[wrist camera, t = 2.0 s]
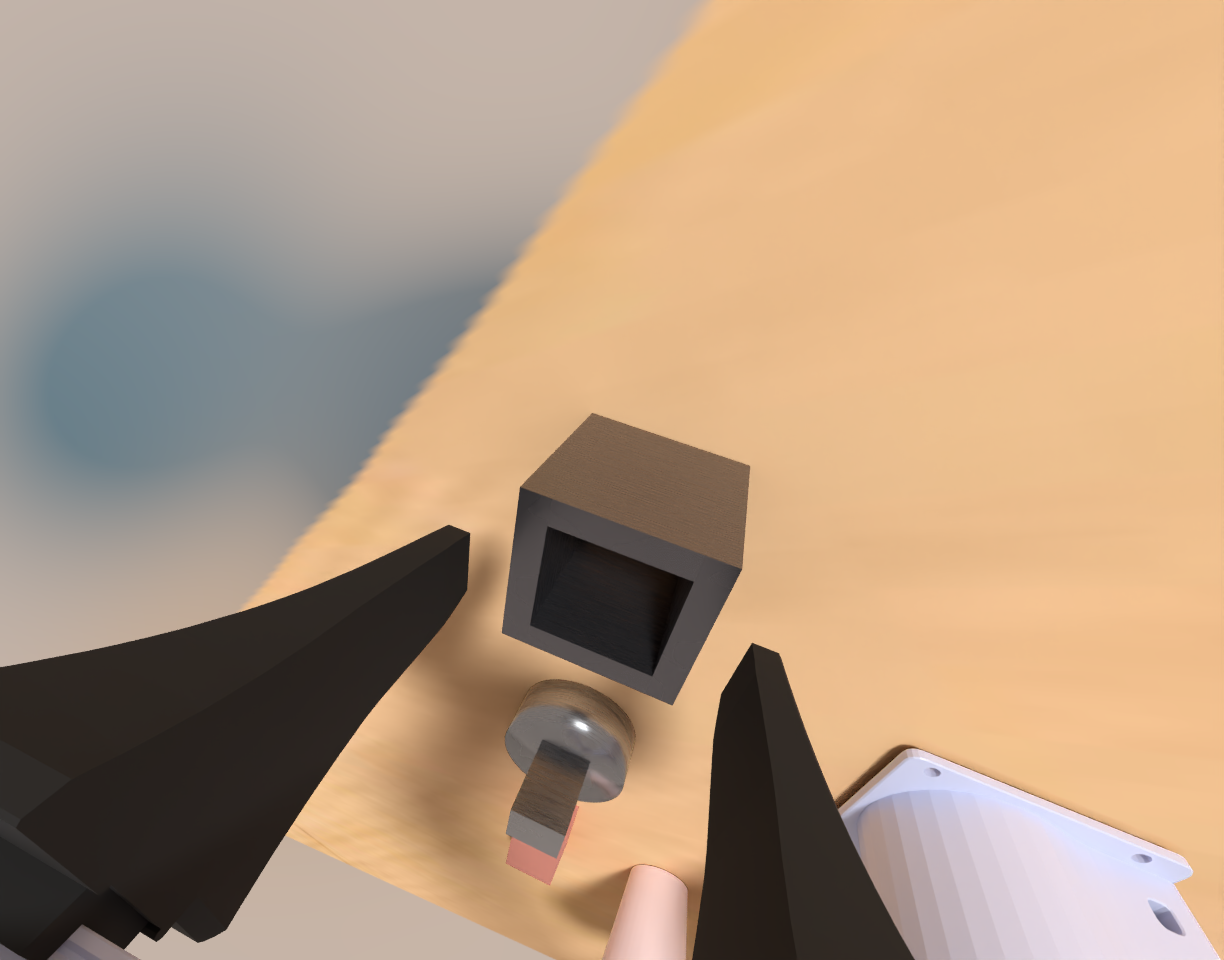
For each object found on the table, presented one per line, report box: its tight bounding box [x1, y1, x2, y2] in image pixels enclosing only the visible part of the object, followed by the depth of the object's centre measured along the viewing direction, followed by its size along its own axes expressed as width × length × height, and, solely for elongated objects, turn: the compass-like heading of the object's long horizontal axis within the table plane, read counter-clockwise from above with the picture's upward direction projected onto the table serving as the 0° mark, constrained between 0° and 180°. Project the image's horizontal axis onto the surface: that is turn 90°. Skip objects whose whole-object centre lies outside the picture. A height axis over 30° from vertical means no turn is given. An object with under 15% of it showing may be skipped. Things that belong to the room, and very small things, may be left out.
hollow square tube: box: [502, 413, 750, 705], centre depth 13 cm, size 5×5×5 cm
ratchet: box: [505, 680, 636, 885], centre depth 24 cm, size 18×6×5 cm, turn 167°
